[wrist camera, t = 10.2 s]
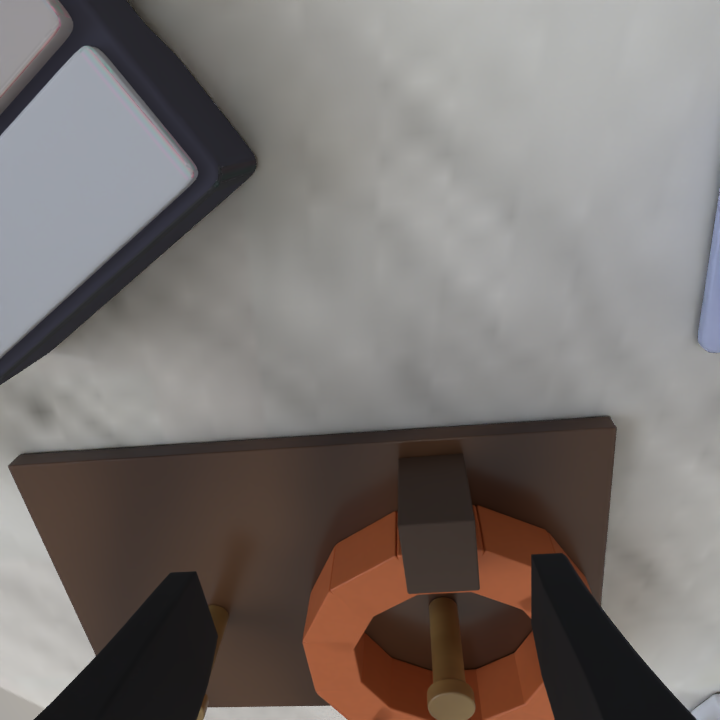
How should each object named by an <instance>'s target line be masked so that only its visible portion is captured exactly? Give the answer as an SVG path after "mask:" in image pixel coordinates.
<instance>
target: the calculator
mask: <svg viewBox="0 0 720 720" xmlns="http://www.w3.org/2000/svg"><path fill="white" fill-rule="evenodd" d="M255 169H256V158H255V156H254V154H253V152H252V151H251V150H250V148H249V147H248V146H247V144H246V143H245V142H244V141H243V139H242V138H241V137H240V135H239V134H238V133H237V132H236V130H235V129H234V128H233V126H232V125H231V124H230V123H229V121H228V120H227V119H226V118H225V116H224V115H223V114H222V113H221V111H220V110H219V109H218V107H217V106H216V105H215V104H214V102H213V101H212V100H211V99H210V97H209V96H208V95H207V93H206V92H205V91H204V90H203V88H202V87H201V86H200V85H199V83H198V82H197V81H196V80H195V78H194V77H193V76H192V74H191V73H190V72H189V71H188V69H187V68H186V67H185V66H184V64H183V63H182V62H181V61H180V59H179V58H178V57H177V56H176V55H175V54H174V53H173V52H172V51H171V50H170V49H169V48H168V47H167V46H166V45H165V44H164V43H163V42H162V41H161V40H160V39H159V38H158V37H157V36H156V35H155V34H154V33H153V32H152V31H151V30H150V29H149V28H148V27H147V26H146V25H145V23H144V22H143V21H142V20H141V18H140V17H139V16H138V15H137V13H136V12H135V11H134V10H133V8H132V7H131V6H130V5H129V3H128V2H127V1H126V0H0V385H1V384H2V383H4V382H5V381H7V380H8V379H10V378H11V377H13V376H15V375H16V374H18V373H19V372H21V371H22V370H24V369H25V368H27V367H28V366H30V365H31V364H33V363H34V362H36V361H37V360H39V359H40V358H42V357H43V356H45V355H46V354H48V353H49V352H50V351H51V350H53V349H54V348H55V347H56V346H57V345H59V344H60V343H61V342H62V341H63V340H64V339H65V338H67V337H68V336H69V335H70V334H71V333H72V332H73V331H75V330H76V329H77V328H78V327H79V326H80V325H81V324H83V323H84V322H85V321H86V320H87V319H88V318H89V317H91V316H92V315H93V314H94V313H95V312H96V311H97V310H99V309H100V308H101V307H102V306H103V305H104V304H105V303H107V302H108V301H109V300H110V299H111V298H112V297H113V296H115V295H116V294H117V293H118V292H119V291H120V290H121V289H123V288H124V287H125V286H126V285H127V284H128V283H129V282H131V281H132V280H133V279H134V278H135V277H136V276H137V275H139V274H140V273H141V272H142V271H143V270H144V269H145V268H147V267H148V266H149V265H150V264H151V263H152V262H153V261H155V260H156V259H157V258H158V257H159V256H160V255H161V254H163V253H164V252H165V251H166V250H167V249H168V248H169V247H171V246H172V245H173V244H174V243H175V242H176V241H177V240H179V239H180V238H181V237H182V236H183V235H184V234H185V233H187V232H188V231H189V230H190V229H191V228H192V227H193V226H195V225H196V224H197V223H198V222H199V221H200V220H201V219H203V218H204V217H205V216H206V215H207V214H208V213H209V212H211V211H212V210H213V209H214V208H215V207H216V206H217V205H219V204H220V203H221V202H222V201H223V200H224V199H225V198H227V197H228V196H229V195H230V194H231V193H232V192H233V191H235V190H236V189H237V188H238V187H239V186H240V185H241V184H243V183H244V182H245V181H246V180H247V179H248V178H249V177H250V176H251V175H252V174H253V173H254V171H255Z"/></svg>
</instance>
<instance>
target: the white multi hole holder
mask: <svg viewBox="0 0 720 720" xmlns="http://www.w3.org/2000/svg"><path fill="white" fill-rule="evenodd" d="M690 713H691V714H692V715H693V716H694V717H695V718H696V719H697V720H720V693H719V694H713V695H712V696H711V697H709V698H708V699H707V700H706V701H704V702H703V703H702V704H700V705H699V706H698V707H696V708H695V709H694V710H693V711H691V712H690Z"/></svg>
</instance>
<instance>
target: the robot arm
mask: <svg viewBox="0 0 720 720" xmlns="http://www.w3.org/2000/svg"><path fill="white" fill-rule="evenodd" d="M698 343H699V344H700V346H701V347H702V348H704V349H705V350H706V351H708V352H711V353H720V190H719V197H718V203H717V210H716V217H715V223H714V230H713V237H712V243H711V250H710V257H709V263H708V270H707V277H706V283H705V290H704V297H703V304H702V310H701V317H700V324H699V330H698ZM531 625H532V630H533V636H534V641H535V646H536V651H537V656H538V661H539V666H540V670H541V675H542V679H543V682H544V686H545V689H546V692H547V696H548V699H549V702H550V705H551V709H552V712H553V715H554V719H555V720H697V719H696V718H695V717H694V716H693V715H692V714H691V713H690V712H689V711H688V710H687V709H686V708H685V706H684V705H683V704H682V703H681V702H680V701H679V700H678V699H677V698H676V697H675V696H674V695H673V693H672V692H671V691H670V690H669V689H668V688H667V687H666V686H665V685H664V683H663V682H662V681H661V680H660V679H659V678H658V677H657V676H656V674H655V673H654V672H653V671H652V670H651V669H650V668H649V666H648V665H647V664H646V663H645V662H644V661H643V659H642V658H641V657H640V656H639V655H638V653H637V652H636V651H635V650H634V649H633V647H632V646H631V645H630V644H629V642H628V641H627V640H626V639H625V637H624V636H623V635H622V634H621V632H620V631H619V630H618V629H617V627H616V626H615V625H614V624H613V622H612V621H611V620H610V618H609V617H608V616H607V614H606V613H605V612H604V610H603V609H602V608H601V606H600V605H599V604H598V602H597V601H596V599H595V598H594V597H593V595H592V594H591V593H590V591H589V590H588V588H587V587H586V585H585V584H584V583H583V581H582V580H581V578H580V577H579V575H578V574H577V572H576V570H575V569H574V567H573V566H572V564H571V563H570V561H569V559H568V558H567V557H566V556H565V555H564V554H563V553H551V554H531ZM217 639H218V634H217V631H216V628H215V625H214V622H213V619H212V616H211V613H210V610H209V607H208V604H207V601H206V598H205V595H204V592H203V589H202V586H201V583H200V581H199V578H198V575H197V572H196V571H192V572H172V573H169V574H168V575H167V577H166V578H165V579H164V580H163V581H162V582H161V583H160V584H159V586H158V587H157V588H156V589H155V590H154V591H153V592H152V594H151V595H150V596H149V597H148V598H147V599H146V600H145V602H144V603H143V604H142V605H141V606H140V607H139V608H138V610H137V611H136V612H135V613H134V614H133V615H132V616H131V618H130V619H129V620H128V621H127V622H126V623H125V625H124V626H123V627H122V628H121V629H120V630H119V631H118V632H117V634H116V635H115V636H114V637H113V638H112V639H111V640H110V641H109V642H108V644H107V645H106V646H105V647H104V648H103V649H102V650H101V651H100V652H99V654H98V655H97V656H96V657H95V658H94V659H93V660H92V661H91V662H90V663H89V664H88V665H87V666H86V668H85V669H84V670H83V671H82V672H81V673H80V674H79V675H78V676H77V677H76V678H75V679H74V680H73V681H72V682H71V683H70V684H69V685H68V686H67V687H66V688H65V689H64V690H63V691H62V692H61V693H60V694H59V696H58V697H57V698H56V699H55V700H54V701H53V702H52V703H51V704H50V705H49V706H47V707H46V708H45V709H44V710H43V711H42V712H41V713H40V714H39V715H38V716H37V717H36V718H35V719H34V720H197V717H198V714H199V711H200V708H201V705H202V702H203V699H204V696H205V693H206V690H207V686H208V683H209V678H210V674H211V669H212V665H213V660H214V655H215V650H216V645H217Z"/></svg>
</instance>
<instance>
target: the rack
mask: <svg viewBox="0 0 720 720" xmlns="http://www.w3.org/2000/svg"><path fill="white" fill-rule="evenodd" d="M616 431H617V428H616V426H615V424H614V423H613V421H612V419H611V418H610V417H608V416H607V417H592V418H577V419H561V420H546V421H530V422H515V423H500V424H484V425H469V426H454V427H438V428H423V429H408V430H392V431H377V432H362V433H346V434H331V435H316V436H300V437H285V438H270V439H254V440H239V441H224V442H208V443H193V444H178V445H162V446H147V447H132V448H116V449H101V450H86V451H70V452H55V453H40V454H24V455H19V456H18V457H17V458H16V459H15V460H14V461H13V462H12V463H10V464H9V466H8V468H9V470H10V472H11V474H12V476H13V478H14V481H15V483H16V485H17V487H18V489H19V491H20V493H21V496H22V498H23V500H24V502H25V504H26V506H27V508H28V511H29V513H30V515H31V517H32V519H33V521H34V523H35V526H36V528H37V530H38V532H39V534H40V536H41V539H42V541H43V543H44V545H45V547H46V549H47V551H48V554H49V556H50V558H51V560H52V562H53V564H54V566H55V569H56V571H57V573H58V575H59V577H60V579H61V581H62V584H63V586H64V588H65V590H66V592H67V594H68V596H69V599H70V601H71V603H72V605H73V607H74V609H75V612H76V614H77V616H78V618H79V620H80V622H81V624H82V627H83V629H84V631H85V633H86V635H87V637H88V639H89V642H90V644H91V646H92V648H93V650H94V652H95V654H96V656H97V655H98V654H99V652H100V651H101V650H102V649H103V648H104V647H105V646H106V645H107V644H108V642H109V641H110V640H111V639H112V638H113V637H114V636H115V635H116V634H117V632H118V631H119V630H120V629H121V628H122V627H123V626H124V625H125V623H126V622H127V621H128V620H129V619H130V618H131V616H132V615H133V614H134V613H135V612H136V611H137V610H138V608H139V607H140V606H141V605H142V604H143V603H144V602H145V600H146V599H147V598H148V597H149V596H150V595H151V594H152V592H153V591H154V590H155V589H156V588H157V587H158V586H159V584H160V583H161V582H162V581H163V580H164V579H165V578H166V577H167V575H168V574H169V573H172V572H192V571H196V572H197V575H198V578H199V581H200V583H201V586H202V589H203V592H204V595H205V598H206V601H207V604H208V607H209V610H210V613H211V616H212V619H213V622H214V625H215V628H216V631H217V634H218V639H217V645H216V650H215V655H214V660H213V665H212V669H211V674H210V678H209V683H208V686H207V690H206V693H205V696H204V699H203V702H202V705H201V708H200V711H199V714H198V717H197V720H203V719H204V717H205V713H206V710H207V707H265V706H331V705H330V704H329V703H327V702H326V701H325V700H324V699H323V698H322V697H320V696H319V695H318V694H317V692H316V691H315V687H314V684H313V680H312V676H311V673H310V669H309V665H308V662H307V658H306V654H305V650H304V647H303V643H302V642H303V634H304V628H305V623H306V617H307V611H308V605H309V599H310V594H311V591H312V589H313V587H314V585H315V583H316V581H317V579H318V577H319V576H320V574H321V572H322V570H323V568H324V566H325V564H326V562H327V560H328V558H329V556H330V554H331V552H332V550H333V548H334V546H335V545H336V544H337V543H339V542H341V541H342V540H344V539H346V538H348V537H349V536H351V535H353V534H355V533H357V532H358V531H360V530H362V529H364V528H366V527H367V526H369V525H371V524H373V523H374V522H376V521H378V520H380V519H382V518H383V517H385V516H387V515H389V514H390V513H392V512H394V511H397V512H398V459H400V458H411V457H424V456H436V455H448V454H460V453H462V454H463V455H464V459H465V465H466V471H467V477H468V483H469V488H470V494H471V500H472V505H475V507H476V506H477V505H479V506H482V507H485V508H487V509H490V510H493V511H496V512H498V513H501V514H504V515H507V516H509V517H512V518H515V519H517V520H520V521H523V522H526V523H528V524H531V525H534V526H537V527H539V528H542V529H545V530H546V531H547V532H548V533H550V534H551V536H552V537H553V538H554V539H555V541H556V542H557V543H558V544H559V545H560V547H561V548H562V549H563V550H564V552H565V553H566V554H567V555H568V556H569V558H570V559H571V560H572V561H573V563H574V564H575V565H576V566H577V567H578V569H579V570H580V571H581V572H582V574H583V575H584V576H585V577H586V579H587V582H588V585H589V587H590V590H591V593H592V595H593V597H594V598H595V599H596V601H597V602H598V604H599V605H600V606H601V597H602V586H603V575H604V564H605V553H606V542H607V531H608V520H609V508H610V497H611V486H612V475H613V464H614V453H615V442H616ZM531 632H532V625H531V618H530V617H529V616H528V615H527V614H526V613H525V612H524V611H523V610H522V609H519V608H516V607H513V606H511V605H508V604H505V603H502V602H499V601H496V600H493V599H490V598H487V597H485V596H482V595H479V594H476V593H473V592H460V593H441V594H422V595H416V596H414V597H412V598H410V599H408V600H406V601H404V602H402V603H400V604H398V605H396V606H394V607H392V608H390V609H388V610H386V611H384V612H382V613H380V614H378V615H376V616H374V617H373V618H372V620H371V622H370V623H369V625H368V627H367V628H366V630H365V633H366V634H367V635H368V636H369V637H370V638H371V639H372V640H373V641H374V642H375V643H377V644H378V645H379V646H380V647H381V648H382V649H383V650H384V651H385V652H386V653H387V654H388V655H389V656H390V657H391V658H394V659H397V660H400V661H403V662H406V663H409V664H412V665H415V666H418V667H421V668H425V669H428V670H431V671H433V684H432V685H431V686H430V687H429V688H428V691H427V707H428V711H429V713H430V714H431V715H432V716H433V717H434V718H435V719H437V720H467V719H469V718H470V717H471V716H472V715H473V714H474V712H475V709H476V706H475V698H474V692H473V689H472V688H471V686H470V685H469V684H467V683H466V680H465V671H464V670H469V669H478V668H480V667H482V666H485V665H487V664H489V663H492V662H494V661H496V660H499V659H501V658H503V657H506V656H508V655H510V654H513V653H515V652H516V650H517V649H518V648H519V647H520V645H521V644H522V643H523V642H524V640H525V639H526V638H527V637H528V635H529V634H530V633H531Z"/></svg>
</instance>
